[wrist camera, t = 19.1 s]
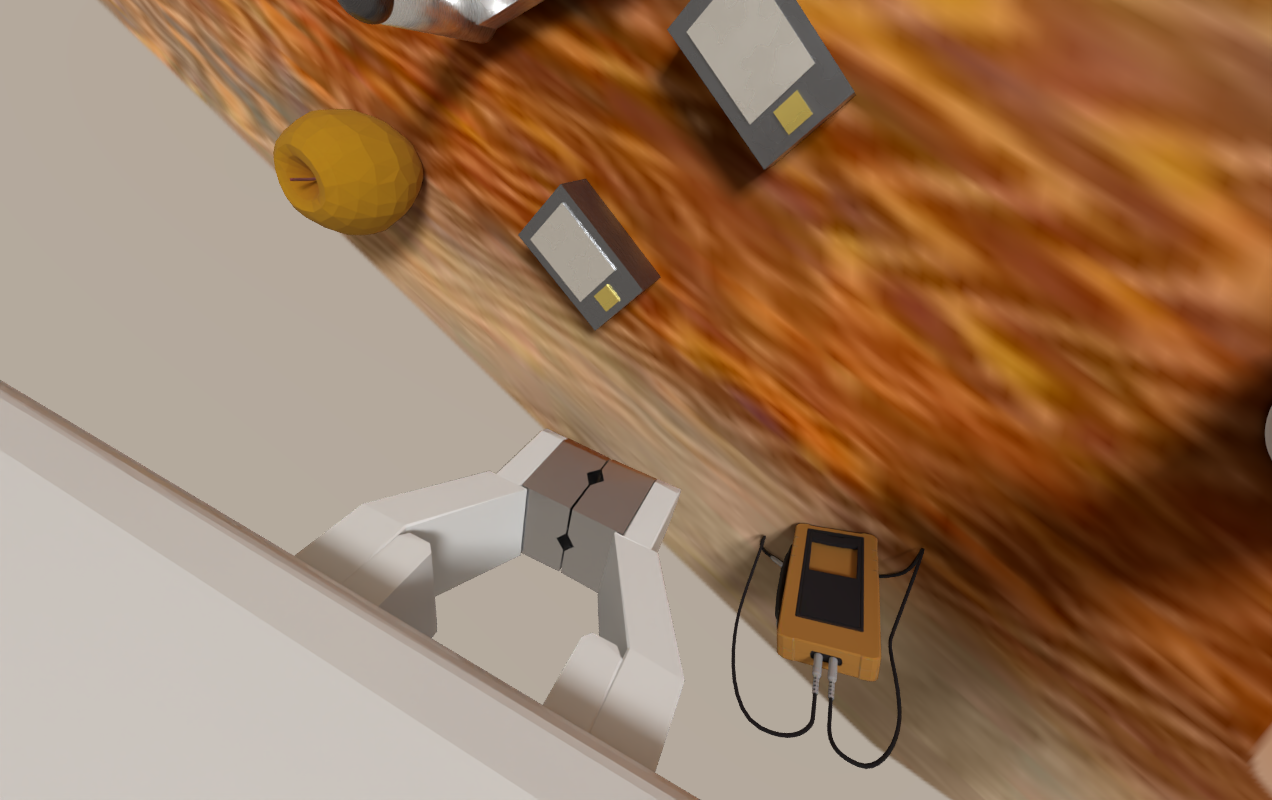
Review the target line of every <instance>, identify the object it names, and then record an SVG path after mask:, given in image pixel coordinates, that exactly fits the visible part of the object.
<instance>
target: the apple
mask: <svg viewBox="0 0 1272 800" xmlns="http://www.w3.org/2000/svg"><path fill="white" fill-rule="evenodd" d="M273 154H274V163H275V170H276V173H277V177H278V180H279V183H280V185H281V188H282V190H283V192H284V194H285V196H286V197H287V199H288V200H289V201H290V203H291V204H292V205H293V207H294V208H295V209H296V210H297V211H299V212H300V213H301V214H302V215H304V216H305V217H306V218H308V219H310V220H312V221H314V222H316V223H318V224H319V225H321V226H323V227H325V228H328V229H331V230H334V231H337V232H340V233H344V234H347V235H369V234H375V233H378V232H381V231H384V230H386V229H387V228H389V227H390V226H391V225H393V224H394V223H395V222H396V221H398V220H399V219H400V218H401V217H402V216H404V215H405V214H406V213H407V211H408V210H409V209H410V207H411V206H412V205H413V203H414V201H415V199H416V197H417V195H418V193H419V191H420V189H421V185H422V181H423V168H422V164H421V161H420V159H419V156H418V154H417V152H416V150H415V148H414V146H413V145H412V144H411V143H410V142H409V141H408V139H406V138H405V137H404V136H402V135H401V134H400V133H399V132H397V131H396V130H395V129H393V128H392V127H391V126H390V125H388V124H387V123H386V122H384V121H382V120H379V119H377V118H375V117H373V116H370V115H367V114H364V113H361V112H357V111H354V110H351V109H328V110H317V111H311V112H309V113H307V114H305V115H304V116H302V117H300V118H299V119H297V120H296V121H295V122H293V123H292V124H291V125H290V126H289V127H288V128H286V129H285V130H284V131H283V133H282V134H281V135H280V137H279V138H278V139H277V140H276V143H275V147H274V152H273Z"/></svg>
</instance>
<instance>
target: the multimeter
mask: <svg viewBox="0 0 1272 800" xmlns="http://www.w3.org/2000/svg"><path fill="white" fill-rule="evenodd" d="M765 538H766V536H763V538H762V540H761V543H760V548H759V551H758V554H757V557H756V559H755V562H754V565H753V568H752V570H751V573H750V576H749V579H748V581H747V584H746V587H745V590H744V593H743V596H742V599H741V602H740V605H739V609H738V613H737V617H736V622H735V627H734V634H733V643H732V677H733V684H734V689H735V694H736V697H737V700H738V703H739V706H740V708H741V710H742V712H743V713H744V715H745V716H746V718H747V719H748V721H749V722H751V723H752V724H753V725H754V726H756V727H757V728H758V729H760V730H762V731H764V732H766V733H769V734H771V735H774V736H778V737H785V738H790V737H797V736H800V735H802V734H804V733H806V732H807V731H808V730H809V729H810V728H811V727H812V725H813V723H814V720H815V710H816V698H817V695H818V687H819V678H820V677H821V672H822V668H824V669H828V680H829V690H828V698H829V708H828V723H827V731H828V737H829V740H830V743H831V745H832V747H833V749H834V750H835V751H836V753H837V754H838V755H840V757H842V758H843V759H844V760H846V761H847V762H849V763H851V764H853V765H855V766H857V767H861V768H865V769H868V768H874V767H876V766H878V765H880V764H881V763H882V762H883V761H885V759H886V758H887V757H888V756H889V755H890V753H891V752H892V750H893V748H894V746H895V744H896V741H897V739H898V735H899V732H900V726H901V698H900V690H899V684H898V678H897V673H896V668H895V663H894V658H893V652H892V639H893V636H894V633H895V631H896V628H897V625H898V623H899V620H900V617H901V614H902V612H903V609H904V606H905V604H906V601H907V598H908V596H909V593H910V590H911V588H912V585H913V582H914V579H915V577H916V574H917V571H918V568H919V566H920V563H921V560H922V557H923V554H924V548H922V549H921V550H920V552H919V554H918V556H917V557H916V559H915V560H914V562H913V563H912V564H911V566H909V567H908V568H907V569H906V570H904V571H902V572H900V573H896V574H891V575H879V573H878V572H879V571H878V549H877V543H878V539H877V538H876V537H875V536H873V535H870V534H866V533H862V534H859V533H853V532H847V531H841V530H835V529H828V528H822V527H816V526H810V524H802V523H801V524H798V525H797V526H796V527H795V535H794V540H793V544H792V545H791V547H790V549H789V552H788V553H787V554H786V556H785V559H784V562H781V561H780V560H779V559H777V558H776V557H774V556H772V555H770V554H769V553H768V552H767V551H766V550H765V549H764V548H763V544H764V541H765ZM761 550H763V552H764V553H765V554H766V555H768V556H769V557H770V558H771V559H772V560H773V561H774V562H775V563H777V564H778V565H779V566H781V567H782V568H781V572H780V578H779V584H778V589H777V596H776V608H775V616H776V625H777V652H778V654H779V655H780V656H782V657H783V658H786V659H789V660H792V661H793V660H795V661H799V662H802V663H806V664H809V665H813V673H812V674H813V676H814V679H813V690H812V693H813V701H812V711H811V719H810V722H809V723H808V725H807V726H806V727H805V728H803V729H802V730H800V731H797V732H794V733H779V732H776V731H772V730H769V729H767V728H765V727H762V726H761V725H759V724H758V723H757V722H755V721H754V720H753V719H752V718H751V717H750V716H749V714H748V713H747V711H746V710H745V708H744V706H743V704H742V701H741V698H740V696H739V692H738V687H737V682H736V674H735V643H736V634H737V626H738V621H739V616H740V612H741V608H742V605H743V602H744V598H745V595H746V592H747V589H748V586H749V583H750V581H751V578H752V575H753V572H754V569H755V567H756V564H757V561H758V558H759V555H760V553H761ZM916 563H917V564H916ZM915 565H916V567H915V570H914V572H913V575H912V578H911V580H910V583H909V586H908V588H907V591H906V594H905V596H904V599H903V602H902V604H901V607H900V610H899V612H898V615H897V618H896V620H895V623H894V626H893V628H892V631H891V634H890V637H889V646H888V647H889V655H890V661H891V666H892V671H893V676H894V682H895V688H896V696H897V709H898V717H897V726H896V730H895V734H894V737H893V739H892V742H891V744H890V746H889V747H888V749H887V751H886V752H885V753H884V754H883V755H882V756H881V757H880V758H879V759H878V760H876V761H874V762H872V763H867V764H864V763H859V762H857V761H855V760H852V759H851V758H849V757H847V756H846V755H845V754H843V753H842V752H841V751H840V750H839V749H838V748H837V746H836V745H835V743H834V741H833V738H832V733H831V719H832V702H833V700H834V688H835V685H834V684H835V682H836V681H837V672H839V673H842V674H846V675H850V676H853V677H857V678H859V679H861V680H866V681H876V680H877V679H878V675H879V668H880V662H881V636H880V598H879V578H889V577H896V576H900V575H903V574H905V573H907V572H908V571H910V570H911V569H912V568H913V567H914V566H915ZM783 593H784V594H783ZM782 598H783V600H782Z"/></svg>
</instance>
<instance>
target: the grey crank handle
mask: <svg viewBox="0 0 1272 800" xmlns="http://www.w3.org/2000/svg"><path fill="white" fill-rule="evenodd" d="M337 1H338V2H339V4H340V5H341V6H342V7H343V9H344V10H345V11H346V12H347V13H349V14H350V15H351V16H352V17H354V18H355V19H357V20H359V21H361V22H364V23H367V24H383V25H388V26H393V27H398V28H403V29H408V30H413V31H419V32H424V33H429V34H434V35H439V36H444V37H450V38H455V39H460V40H465V41H470V42H475V43H481V44H482V43H486V42H488V41H490V40H491V39H492V37H493V36H494V34H495V31H496V29H497V28H499V27H501V26H502V25H504V24H506V23H507V22H509V21H511V20H512V19H514V18H516V17H517V16H519V15H521V14H522V13H524V12H526V11H527V10H529V9H531V8H532V7H534V6H536V5H537V4H539V3H541V2H542V1H544V0H337Z"/></svg>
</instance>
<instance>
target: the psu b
mask: <svg viewBox="0 0 1272 800" xmlns="http://www.w3.org/2000/svg"><path fill="white" fill-rule="evenodd" d="M667 30H668V31H669V33H670V34H671V36H672V37H673V38H674V40H675V41H676V43H677V44H678V46H679V47H680V49H681V50H682V51H683V53H684V54H685V56H686V57H687V59H688V60H689V62H690V63H691V64H692V66H693V67H694V69H695V70H696V72H697V73H698V75H699V76H700V77H701V79H702V80H703V82H704V83H705V85H706V86H707V88H708V89H709V90H710V92H711V93H712V95H713V96H714V98H715V99H716V101H717V102H718V104H719V105H720V106H721V108H722V109H723V111H724V112H725V114H726V115H727V117H728V118H729V119H730V121H731V122H732V124H733V125H734V127H735V128H736V130H737V131H738V132H739V134H740V135H741V137H742V138H743V140H744V141H745V143H746V144H747V145H748V147H749V148H750V150H751V151H752V153H753V154H754V156H755V157H756V158H757V160H758V161H759V163H760V164H761V166H762V167H763V169H764V170H765V169H767V168H769V167H771V166H773V165H774V164H776V163H777V162H778V161H779V160H780V159H781V158H783V157H784V156H785V155H786V154H787V153H788V152H790V151H791V150H792V149H793V148H794V147H795V146H797V145H798V144H799V143H800V142H801V141H802V140H804V139H805V138H806V137H807V136H808V135H810V134H811V133H812V132H813V131H814V130H815V129H817V128H818V127H819V126H820V125H821V124H822V123H824V122H825V121H826V120H827V119H828V118H829V117H831V116H832V115H833V114H834V113H835V112H836V111H838V110H839V109H840V108H841V107H842V106H843V105H845V104H846V103H847V102H848V101H849V100H851V99H852V98H853V97H854V96H855V95H856V94H855V92H854V90H853V89H852V87H851V86H850V84H849V83H848V81H847V79H846V78H845V76H844V75H843V73H842V72H841V70H840V68H839V67H838V65H837V64H836V62H835V61H834V59H833V58H832V56H831V54H830V53H829V51H828V50H827V48H826V47H825V45H824V43H823V42H822V40H821V39H820V37H819V36H818V34H817V32H816V31H815V29H814V28H813V26H812V25H811V23H810V21H809V20H808V18H807V17H806V15H805V14H804V12H803V10H802V9H801V7H800V6H799V4H798V3H797V1H796V0H691V1H690V2H689V3H688V4H687V6H686V7H685V8H684V9H683V11H682V12H681V13H680V14H679V16H678V17H677V18H676V19H675V21H674V22H673V23H672V24H671V26H670V27H669V28H668V29H667Z"/></svg>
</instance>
